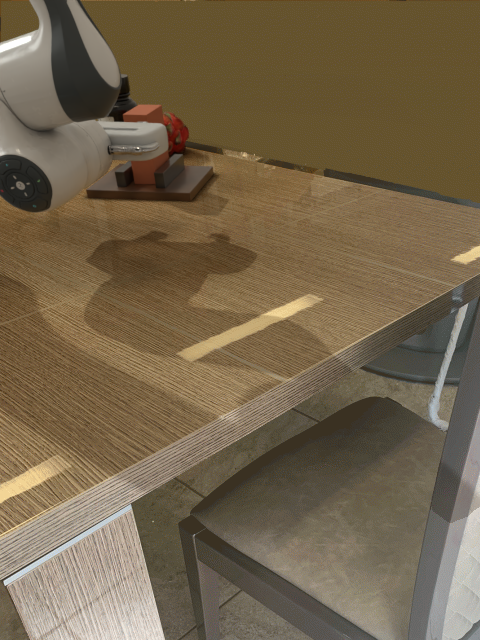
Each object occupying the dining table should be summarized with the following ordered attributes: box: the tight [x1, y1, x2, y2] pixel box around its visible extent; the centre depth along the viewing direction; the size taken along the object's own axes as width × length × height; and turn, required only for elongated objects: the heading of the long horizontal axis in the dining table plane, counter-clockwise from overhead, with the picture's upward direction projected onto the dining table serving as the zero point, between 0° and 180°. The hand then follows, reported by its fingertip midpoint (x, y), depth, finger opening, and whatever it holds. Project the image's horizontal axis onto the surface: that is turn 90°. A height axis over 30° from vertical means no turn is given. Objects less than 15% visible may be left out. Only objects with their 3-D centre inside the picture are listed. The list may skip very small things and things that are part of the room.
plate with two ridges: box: [85, 153, 215, 202], centre depth 113 cm, size 18×16×4 cm
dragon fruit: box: [163, 111, 190, 157], centre depth 130 cm, size 8×8×12 cm
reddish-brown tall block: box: [123, 104, 170, 184], centre depth 110 cm, size 4×8×11 cm, turn 174°
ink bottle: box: [97, 73, 138, 122], centre depth 140 cm, size 10×9×12 cm
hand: (114, 126), depth 97 cm, fingers open, 8 cm apart
